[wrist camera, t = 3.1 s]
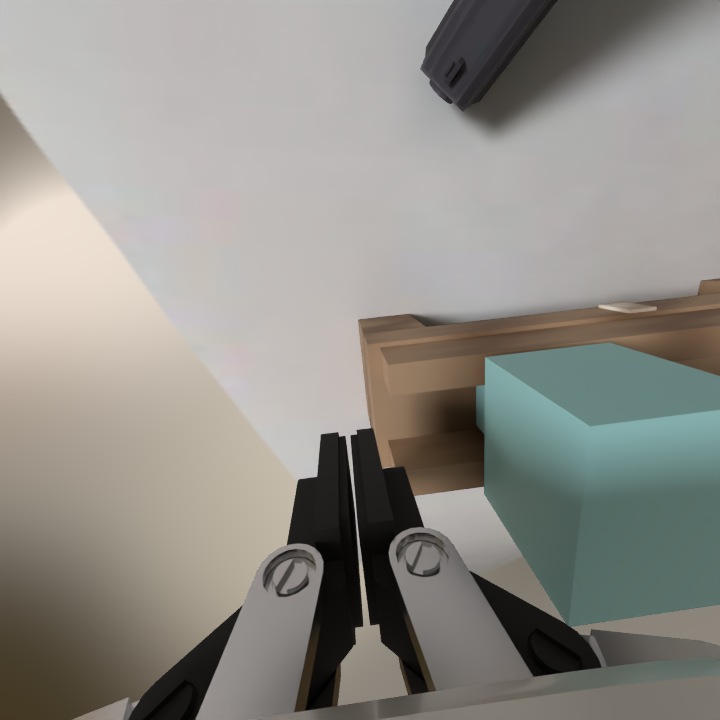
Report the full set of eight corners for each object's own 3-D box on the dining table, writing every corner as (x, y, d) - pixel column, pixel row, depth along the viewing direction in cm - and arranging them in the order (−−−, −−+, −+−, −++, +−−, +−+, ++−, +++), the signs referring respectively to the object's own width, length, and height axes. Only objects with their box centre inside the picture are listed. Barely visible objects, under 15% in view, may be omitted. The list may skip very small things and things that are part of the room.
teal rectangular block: (563, 328, 14) (798, 399, 7) (554, 445, 16) (736, 602, 9) (459, 340, 14) (590, 426, 7) (461, 457, 16) (568, 627, 8)
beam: (748, 272, 21) (1012, 281, 13) (726, 370, 22) (944, 432, 14) (357, 317, 20) (372, 356, 12) (368, 414, 22) (387, 506, 14)
